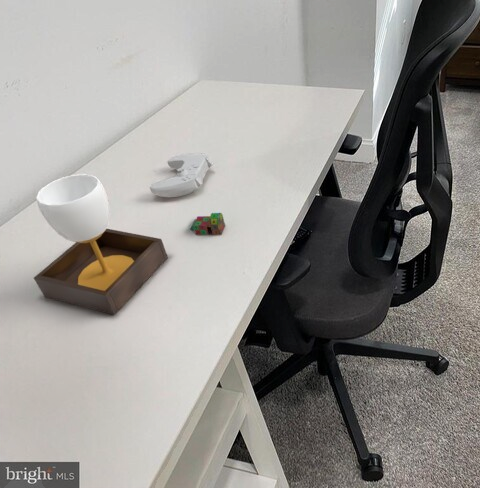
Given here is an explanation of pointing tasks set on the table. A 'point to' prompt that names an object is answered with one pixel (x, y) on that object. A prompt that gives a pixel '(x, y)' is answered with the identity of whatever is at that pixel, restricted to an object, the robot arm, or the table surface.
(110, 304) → the holder
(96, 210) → the cup
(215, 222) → the block
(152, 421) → the table surface
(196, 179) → the game controller
